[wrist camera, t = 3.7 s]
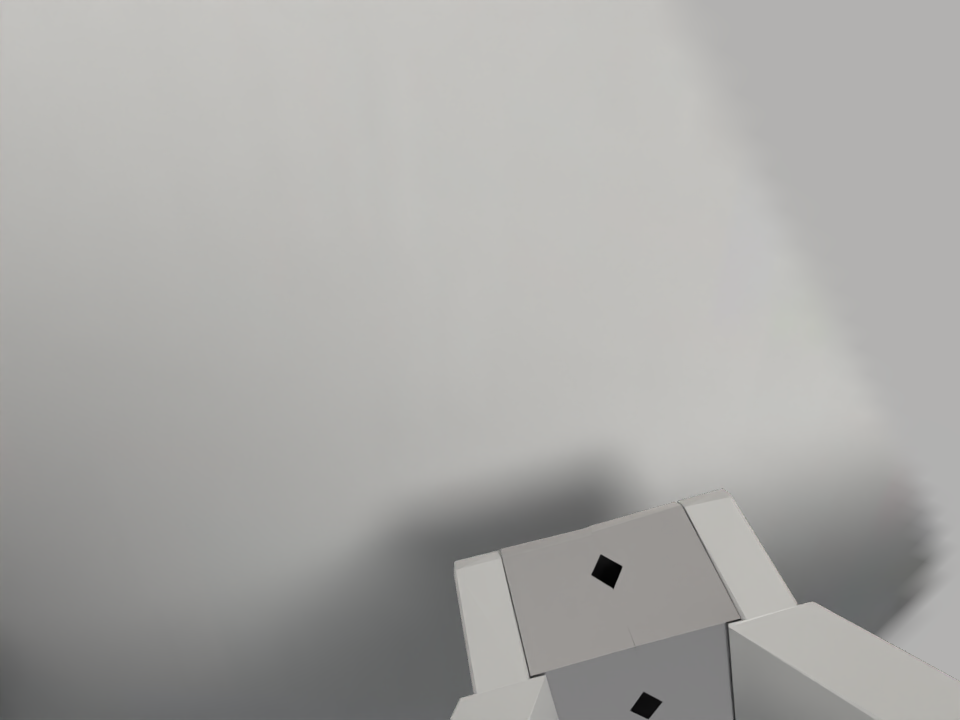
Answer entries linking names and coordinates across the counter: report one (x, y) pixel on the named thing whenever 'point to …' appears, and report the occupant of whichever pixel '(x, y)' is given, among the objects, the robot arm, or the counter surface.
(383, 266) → the counter surface
